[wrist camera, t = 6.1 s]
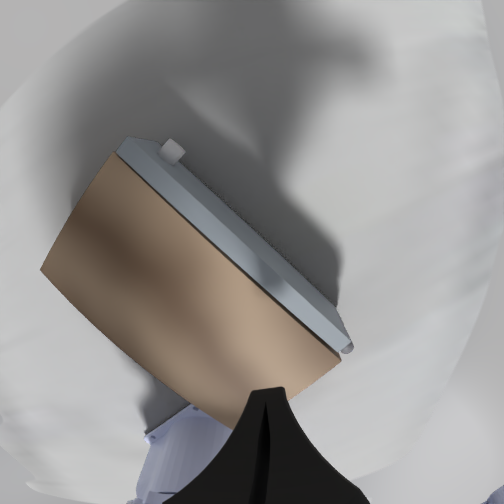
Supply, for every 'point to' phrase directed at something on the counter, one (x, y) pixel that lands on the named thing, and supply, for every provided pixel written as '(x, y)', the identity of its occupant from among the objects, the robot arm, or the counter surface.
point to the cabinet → (178, 299)
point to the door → (234, 236)
